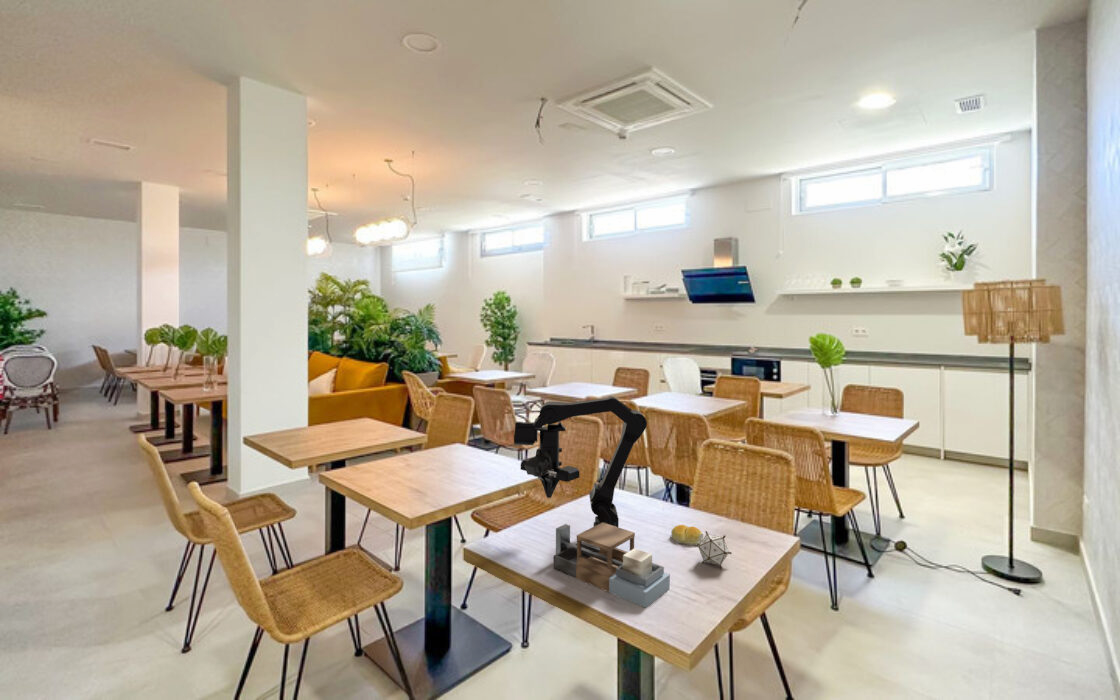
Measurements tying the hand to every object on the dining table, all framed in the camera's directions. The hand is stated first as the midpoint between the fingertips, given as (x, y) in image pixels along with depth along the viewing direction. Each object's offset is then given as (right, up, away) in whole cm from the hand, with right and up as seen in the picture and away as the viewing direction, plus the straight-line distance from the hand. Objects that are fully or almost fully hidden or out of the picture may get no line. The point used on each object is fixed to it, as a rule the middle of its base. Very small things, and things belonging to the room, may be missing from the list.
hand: (549, 497), depth 153 cm
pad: (+22, -14, -29) cm, 39 cm away
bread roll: (+41, -13, 0) cm, 43 cm away
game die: (+44, -14, -15) cm, 48 cm away
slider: (+14, -12, -22) cm, 29 cm away
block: (+22, -10, -29) cm, 38 cm away
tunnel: (+12, -13, -20) cm, 27 cm away
